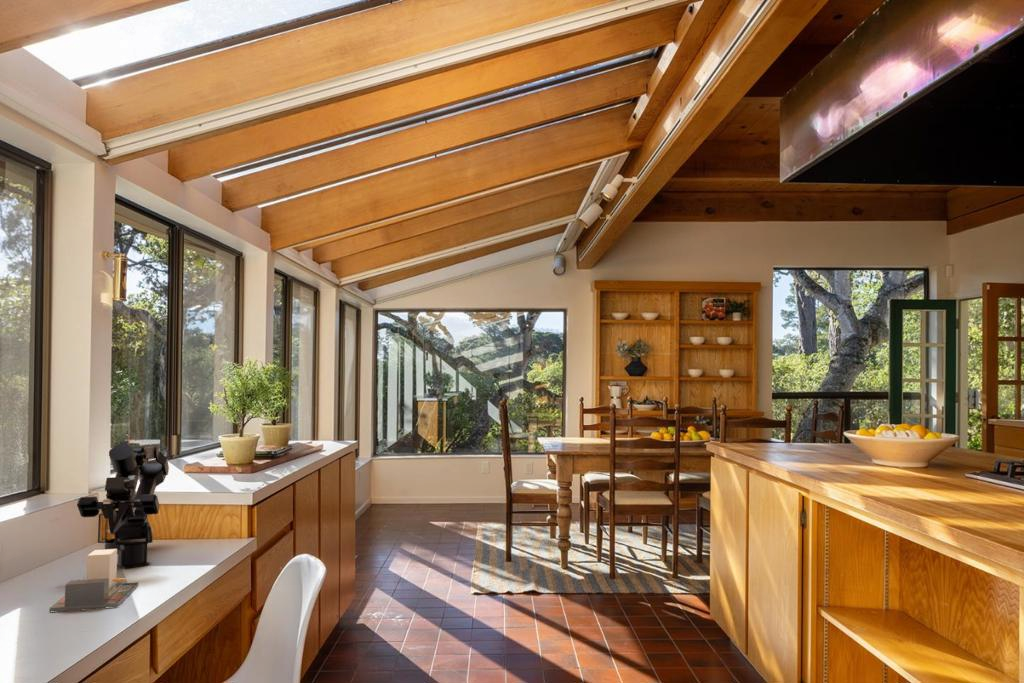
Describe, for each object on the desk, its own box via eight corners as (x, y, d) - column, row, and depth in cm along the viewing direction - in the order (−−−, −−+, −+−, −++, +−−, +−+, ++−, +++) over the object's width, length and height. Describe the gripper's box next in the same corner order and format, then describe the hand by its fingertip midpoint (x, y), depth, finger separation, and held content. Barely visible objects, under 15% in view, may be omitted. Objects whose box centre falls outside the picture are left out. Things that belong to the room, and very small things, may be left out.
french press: (143, 546, 226) (145, 474, 227) (136, 553, 217) (138, 477, 218) (102, 548, 223) (105, 475, 224) (93, 555, 214) (96, 479, 215)
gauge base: (76, 590, 177) (77, 566, 178) (138, 586, 181) (138, 562, 181) (49, 612, 160) (50, 585, 160) (117, 607, 164) (118, 581, 164)
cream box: (82, 587, 176) (84, 550, 176) (126, 584, 178) (128, 548, 179) (74, 594, 170) (75, 556, 170) (120, 591, 172) (121, 553, 173)
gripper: (80, 466, 186) (63, 516, 175) (158, 464, 191) (146, 512, 179) (89, 492, 193) (73, 541, 182) (163, 489, 198) (153, 537, 186)
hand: (111, 532), depth 182 cm, fingers closed
